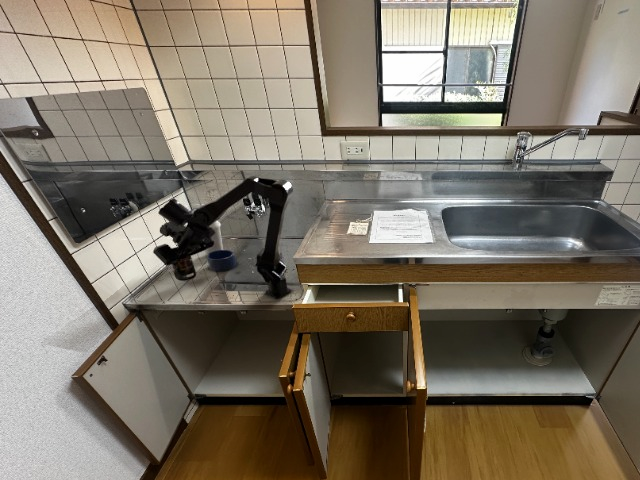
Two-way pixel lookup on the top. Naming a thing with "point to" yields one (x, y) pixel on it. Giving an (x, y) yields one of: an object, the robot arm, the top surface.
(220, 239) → the coffee cup
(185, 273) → the supplement container
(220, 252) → the blue rimmed bowl
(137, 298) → the top surface
